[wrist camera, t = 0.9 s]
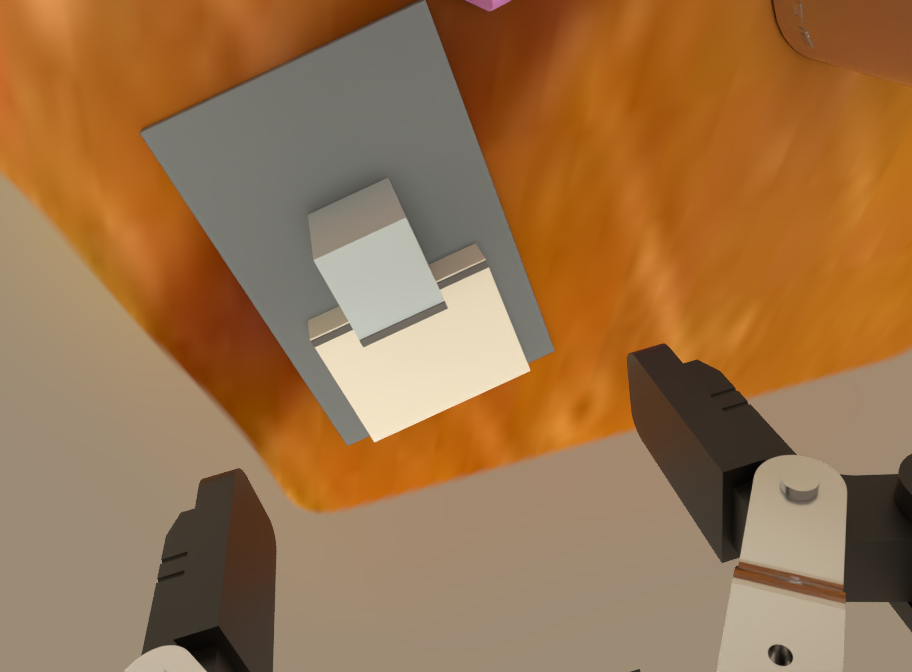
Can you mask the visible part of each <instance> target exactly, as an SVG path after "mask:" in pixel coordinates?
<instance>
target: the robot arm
mask: <svg viewBox="0 0 912 672" xmlns="http://www.w3.org/2000/svg"><path fill="white" fill-rule="evenodd" d="M774 8H775V13H776V18H777V23H778V25H779V27H780V29H781V32H782V34H783V36H784V38H785V39H786V40H787V41H788V43H789V44H790V45H791V46H792V48H793V49H794V50H796V51H797V52H799V53H800V54H802V55H803V56H805V57H806V58H810V59H813V60H817V61H820V62H824V63H827V64H831V65H834V66H838V67H842V68H845V69H849V70H852V71H856V72H859V73H863V74H865V75H869V76H873V77H876V78H880V79H884V80H887V81H891V82H895V83H898V84H902V85H906V86H910V87H912V0H774ZM627 368H628V379H629V390H630V401H631V411H632V416H633V420H634V424H635V426H636V429H637V431H638V434H639V436H640V437H641V439H642V441H643V442H644V444H645V446H646V447H647V449H648V450H649V452H650V453H651V455H652V456H653V458H654V459H655V461H656V462H657V464H658V466H659V467H660V469H661V470H662V472H663V473H664V475H665V476H666V478H667V479H668V481H669V483H670V484H671V486H672V487H673V489H674V490H675V492H676V493H677V495H678V496H679V498H680V499H681V501H682V503H683V504H684V506H685V507H686V509H687V510H688V512H689V513H690V515H691V516H692V518H693V519H694V521H695V522H696V524H697V526H698V527H699V528H700V530H701V532H702V533H703V535H704V536H705V538H706V539H707V541H708V542H709V544H710V546H711V547H712V549H713V550H714V551H715V553H716V555H717V556H718V558H719V559H720V561H721V562H722V563H724V562H727V561H730V560H733V559H736V558H739V557H740V561H739V565H738V566H736V567H735V570H734V575H733V580H732V585H731V591H730V596H729V602H728V608H727V613H726V619H725V624H724V631H723V636H722V641H721V647H720V653H719V658H718V664H717V670H716V672H843V668H844V642H845V640H844V639H845V616H846V615H845V614H846V602H889V603H890V604H891V605H892V607H893V608H894V610H895V611H896V612H897V614H898V615H899V616H900V617H901V619H902V620H903V621H904V623H905V624H906V625H907V627H908V628H909V629H910V630H911V632H912V454H911V455H909V456H907V457H906V458H905V459H904V460H903V461H902V463H901V465H900V468H899V472H898V474H892V475H891V474H890V475H862V476H861V475H860V476H851V475H840V474H839V473H838V472H837V471H836V470H834V469H833V468H832V467H831V466H829V465H827V464H825V463H824V462H821V461H820V460H817V459H814V458H811V457H807V456H801V455H797V454H796V453H795V452H794V451H793V450H792V449H791V448H790V447H789V446H788V445H787V444H786V443H785V442H784V440H783V439H782V438H781V437H780V436H779V435H778V434H777V433H776V432H775V431H774V430H773V428H772V427H771V426H770V425H769V424H768V423H767V422H766V421H765V420H764V419H763V418H762V416H760V414H759V413H758V412H757V411H756V410H755V409H754V408H753V407H752V406H751V405H749V404H748V402H747V400H746V399H745V398H744V397H743V396H742V395H741V394H740V392H739V391H736V390H735V387H734V386H733V385H732V384H731V383H730V382H729V380H728V379H727V378H726V377H725V376H724V375H723V374H722V373H721V372H720V371H719V370H717V369H715V368H713V367H711V366H709V365H707V364H705V363H703V362H701V361H699V360H694V361H691V362H687V363H684V364H683V363H682V362H681V361H680V359H679V358H678V357H677V356H676V355H675V353H674V352H673V351H672V350H671V349H670V348H669V347H668V346H667V345H666V344H659V345H656V346H653V347H649V348H646V349H642V350H639V351H636V352H632V353H629V354H628V356H627ZM161 560H162V564H160V569H159V573H158V578H157V579H158V583H156V588H155V592H154V597H153V602H152V607H151V612H150V617H149V622H148V627H147V631H146V636H145V641H144V646H143V651H142V655H141V656H140V657H139V658H137V659H136V660H135V661H134V662H132V663H131V664H130V666H128V667H127V668H126V669H125V670H124V672H273V645H274V644H273V643H274V612H275V577H276V576H275V575H276V540H275V535H274V531H273V527H272V524H271V521H270V519H269V517H268V515H267V514H266V512H265V510H264V508H263V506H262V504H261V502H260V500H259V499H258V497H257V495H256V493H255V491H254V489H253V487H252V486H251V484H250V482H249V480H248V478H247V476H246V475H245V473H244V472H243V471H242V470H241V469H240V468H239V469H235V470H232V471H228V472H224V473H221V474H218V475H214V476H211V477H208V478H204V479H202V480H201V481H200V484H199V489H198V494H197V500H196V506H195V509H192V510H188V511H185V512H182V513H180V515H179V517H178V518H177V520H176V521H175V523H174V524H173V526H172V528H171V529H170V531H169V532H168V534H167V536H166V539H165V544H164V549H163V554H162V559H161ZM632 672H640V670H639V669H638V670H635V671H632Z"/></svg>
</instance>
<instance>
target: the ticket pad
mask: <svg viewBox="0 0 912 672" xmlns="http://www.w3.org/2000/svg"><path fill="white" fill-rule="evenodd" d="M140 134H141V136H142V137H143V139H144V140H145V142H146V143H147V145H148V146H149V148H150V149H151V151H152V152H153V154H154V155H155V157H156V158H157V160H158V161H159V163H160V164H161V166H162V167H163V169H164V170H165V172H166V173H167V175H168V176H169V178H170V179H171V181H172V182H173V184H174V185H175V187H176V188H177V190H178V191H179V193H180V195H181V196H182V198H183V199H184V201H185V202H186V204H187V205H188V207H189V208H190V210H191V211H192V213H193V214H194V216H195V217H196V219H197V220H198V222H199V223H200V225H201V226H202V228H203V229H204V231H205V232H206V234H207V235H208V237H209V238H210V240H211V241H212V243H213V244H214V246H215V247H216V249H217V250H218V252H219V253H220V255H221V256H222V258H223V259H224V261H225V262H226V264H227V265H228V267H229V268H230V270H231V271H232V273H233V274H234V276H235V277H236V279H237V280H238V282H239V283H240V285H241V286H242V288H243V289H244V291H245V292H246V294H247V295H248V297H249V298H250V300H251V301H252V303H253V304H254V306H255V307H256V309H257V310H258V312H259V313H260V315H261V316H262V318H263V319H264V321H265V322H266V324H267V325H268V327H269V328H270V330H271V331H272V333H273V334H274V336H275V337H276V339H277V340H278V342H279V343H280V345H281V346H282V348H283V349H284V351H285V352H286V354H287V355H288V357H289V359H290V360H291V362H292V363H293V365H294V366H295V368H296V369H297V371H298V372H299V374H300V375H301V377H302V378H303V380H304V381H305V383H306V384H307V386H308V387H309V389H310V390H311V392H312V393H313V395H314V396H315V398H316V399H317V401H318V402H319V404H320V405H321V407H322V408H323V410H324V411H325V413H326V414H327V416H328V417H329V419H330V420H331V422H332V423H333V425H334V426H335V428H336V429H337V431H338V432H339V434H340V435H341V437H342V438H343V440H344V441H345V443H346V444H347V446H349V445H351V444H353V443H355V442H357V441H360V440H362V439H364V438H366V437H368V436H371V438H372V439H373V441H374V442H376V441H379V440H381V439H383V438H385V437H387V436H389V435H392V434H394V433H396V432H398V431H400V430H403V429H405V428H407V427H409V426H411V425H413V424H416V423H418V422H420V421H422V420H424V419H426V418H429V417H431V416H433V415H435V414H437V413H440V412H442V411H444V410H446V409H448V408H450V407H453V406H455V405H457V404H459V403H461V402H464V401H466V400H468V399H470V398H472V397H474V396H477V395H479V394H481V393H483V392H485V391H488V390H490V389H492V388H494V387H496V386H498V385H501V384H503V383H505V382H507V381H509V380H511V379H514V378H516V377H518V376H520V375H522V374H525V373H527V372H529V371H531V370H530V368H529V366H528V363H530V362H532V361H534V360H536V359H538V358H540V357H543V356H545V355H547V354H549V353H551V352H554V351H555V350H554V347H553V345H552V342H551V339H550V336H549V334H548V331H547V328H546V326H545V323H544V320H543V318H542V315H541V312H540V309H539V307H538V304H537V301H536V299H535V296H534V293H533V290H532V288H531V285H530V282H529V280H528V277H527V274H526V271H525V269H524V266H523V263H522V261H521V258H520V255H519V252H518V250H517V247H516V244H515V242H514V239H513V236H512V233H511V231H510V228H509V225H508V223H507V220H506V217H505V214H504V212H503V209H502V206H501V204H500V201H499V198H498V195H497V193H496V190H495V187H494V185H493V182H492V179H491V176H490V174H489V171H488V168H487V166H486V163H485V160H484V157H483V155H482V152H481V149H480V147H479V144H478V141H477V138H476V136H475V133H474V130H473V128H472V125H471V122H470V119H469V117H468V114H467V111H466V109H465V106H464V103H463V101H462V98H461V95H460V92H459V90H458V87H457V84H456V82H455V79H454V76H453V73H452V71H451V68H450V65H449V63H448V60H447V57H446V54H445V52H444V49H443V46H442V44H441V41H440V38H439V35H438V33H437V30H436V27H435V25H434V22H433V19H432V16H431V14H430V11H429V8H428V6H427V3H426V0H419V1H417V2H414V3H412V4H410V5H408V6H406V7H404V8H402V9H399V10H397V11H395V12H393V13H391V14H389V15H387V16H384V17H382V18H380V19H378V20H376V21H374V22H372V23H369V24H367V25H365V26H363V27H361V28H359V29H356V30H354V31H352V32H350V33H348V34H346V35H344V36H341V37H339V38H337V39H335V40H333V41H331V42H329V43H326V44H324V45H322V46H320V47H318V48H316V49H314V50H311V51H309V52H307V53H305V54H303V55H301V56H299V57H296V58H294V59H292V60H290V61H288V62H286V63H284V64H281V65H279V66H277V67H275V68H273V69H271V70H269V71H266V72H264V73H262V74H260V75H258V76H256V77H254V78H251V79H249V80H247V81H245V82H243V83H241V84H239V85H236V86H234V87H232V88H230V89H228V90H226V91H224V92H221V93H219V94H217V95H215V96H213V97H211V98H209V99H206V100H204V101H202V102H200V103H198V104H196V105H194V106H191V107H189V108H187V109H185V110H183V111H181V112H179V113H176V114H174V115H172V116H170V117H168V118H166V119H164V120H161V121H159V122H157V123H155V124H153V125H151V126H149V127H146V128H144V129H142V130H141V132H140ZM386 178H389V180H390V183H391V185H392V187H393V189H394V191H395V193H396V196H397V198H398V200H399V202H400V204H401V206H402V208H403V211H404V213H405V215H406V217H407V219H408V221H409V224H410V226H411V228H412V230H413V232H414V234H415V237H416V239H417V241H418V243H419V245H420V247H421V250H422V252H423V254H424V256H425V258H426V260H427V263H428V265H429V267H430V269H431V271H432V274H433V276H434V278H435V280H436V283H437V285H438V287H439V289H440V291H441V294H442V296H443V298H444V300H445V302H446V305H447V307H448V309H446V310H444V311H442V312H439V313H437V314H435V315H433V316H431V317H429V318H426V319H424V320H422V321H420V322H418V323H416V324H413V325H411V326H409V327H407V328H405V329H403V330H400V331H398V332H396V333H394V334H392V335H390V336H387V337H385V338H383V339H381V340H379V341H377V342H374V343H372V344H370V345H368V346H366V347H363V346H362V345H361V343H360V341H359V339H358V337H357V335H356V333H355V332H354V330H353V328H352V327H351V325H350V323H349V321H348V320H347V318H346V316H345V314H344V313H343V311H342V309H341V307H340V306H339V304H338V302H337V300H336V299H335V297H334V295H333V294H332V292H331V290H330V288H329V287H328V285H327V283H326V281H325V280H324V278H323V276H322V274H321V273H320V271H319V269H318V267H317V266H316V264H315V262H314V261H313V253H312V245H311V237H310V229H309V221H308V214H310V213H313V212H315V211H317V210H319V209H321V208H323V207H326V206H328V205H330V204H332V203H334V202H336V201H338V200H341V199H343V198H345V197H347V196H349V195H351V194H354V193H356V192H358V191H360V190H362V189H364V188H367V187H369V186H371V185H373V184H375V183H377V182H379V181H382V180H384V179H386Z"/></svg>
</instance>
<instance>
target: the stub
mask: <svg viewBox="0 0 912 672" xmlns="http://www.w3.org/2000/svg"><path fill="white" fill-rule="evenodd" d="M308 221H309V229H310V237H311V245H312V253H313V261H314V262H315V264H316V266H317V267H318V269H319V271H320V273H321V274H322V276H323V278H324V280H325V281H326V283H327V285H328V287H329V288H330V290H331V292H332V294H333V295H334V297H335V299H336V300H337V302H338V304H339V306H340V307H341V309H342V311H343V313H344V314H345V316H346V318H347V320H348V321H349V323H350V325H351V327H352V328H353V330H354V332H355V333H356V335H357V337H358V339H359V341H360V343H361V345H362V346H363V347H366V346H368V345H370V344H372V343H374V342H377V341H379V340H381V339H383V338H385V337H387V336H390V335H392V334H394V333H396V332H398V331H400V330H403V329H405V328H407V327H409V326H411V325H413V324H416V323H418V322H420V321H422V320H424V319H426V318H429V317H431V316H433V315H435V314H437V313H439V312H442V311H444V310H446V309H448V307H447V305H446V302H445V300H444V298H443V296H442V294H441V291H440V289H439V287H438V285H437V283H436V280H435V278H434V276H433V274H432V271H431V269H430V267H429V265H428V263H427V260H426V258H425V256H424V254H423V252H422V250H421V247H420V245H419V243H418V241H417V239H416V237H415V234H414V232H413V230H412V228H411V226H410V224H409V221H408V219H407V217H406V215H405V213H404V211H403V208H402V206H401V204H400V202H399V200H398V198H397V196H396V193H395V191H394V189H393V187H392V185H391V183H390V180H389V178H386V179H384V180H382V181H379V182H377V183H375V184H373V185H371V186H369V187H367V188H364V189H362V190H360V191H358V192H356V193H354V194H351V195H349V196H347V197H345V198H343V199H341V200H338V201H336V202H334V203H332V204H330V205H328V206H326V207H323V208H321V209H319V210H317V211H315V212H313V213H310V214H308Z"/></svg>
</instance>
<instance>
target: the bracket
mask: <svg viewBox="0 0 912 672" xmlns="http://www.w3.org/2000/svg"><path fill="white" fill-rule="evenodd" d="M465 1H467V2H469V3H472V4H474V5H476V6H478V7H481V8H483V9H485V10H487V11H492V10H494V9H496V8H498V7H500V6H502V5H504V4H506V3H507V2H509V1H511V0H465Z"/></svg>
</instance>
